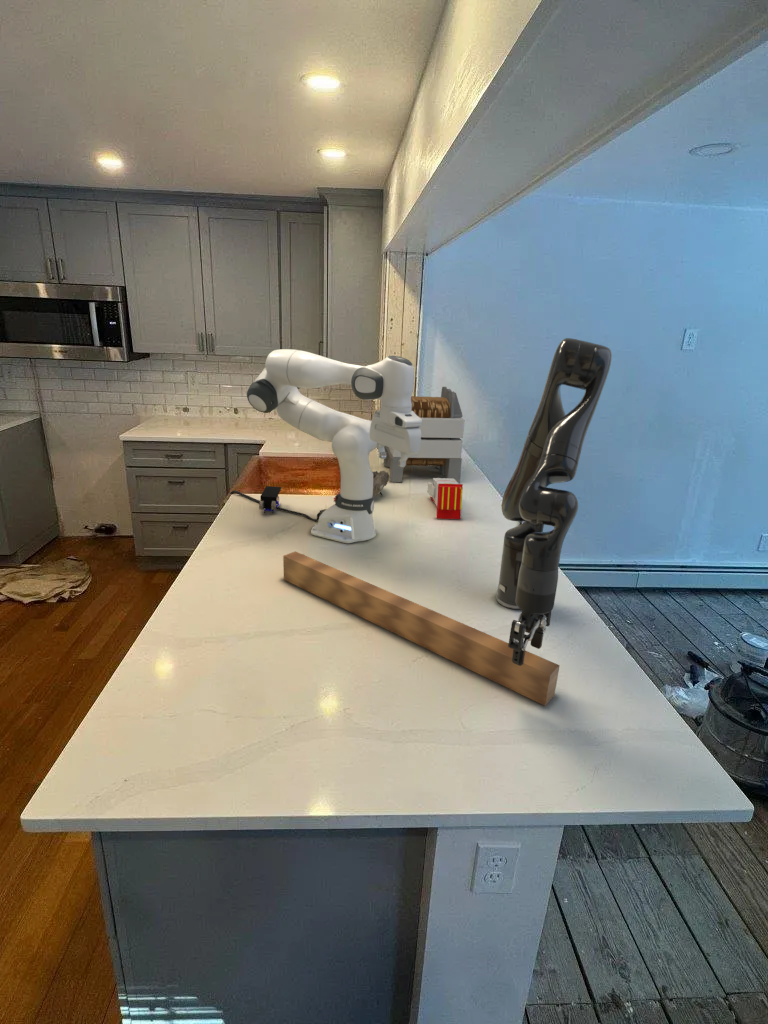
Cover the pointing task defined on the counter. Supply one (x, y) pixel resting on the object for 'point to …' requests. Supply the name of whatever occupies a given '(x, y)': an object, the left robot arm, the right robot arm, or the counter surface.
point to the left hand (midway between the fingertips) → (391, 462)
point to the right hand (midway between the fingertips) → (526, 655)
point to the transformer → (434, 437)
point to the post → (426, 628)
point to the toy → (446, 497)
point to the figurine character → (269, 499)
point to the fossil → (379, 481)
